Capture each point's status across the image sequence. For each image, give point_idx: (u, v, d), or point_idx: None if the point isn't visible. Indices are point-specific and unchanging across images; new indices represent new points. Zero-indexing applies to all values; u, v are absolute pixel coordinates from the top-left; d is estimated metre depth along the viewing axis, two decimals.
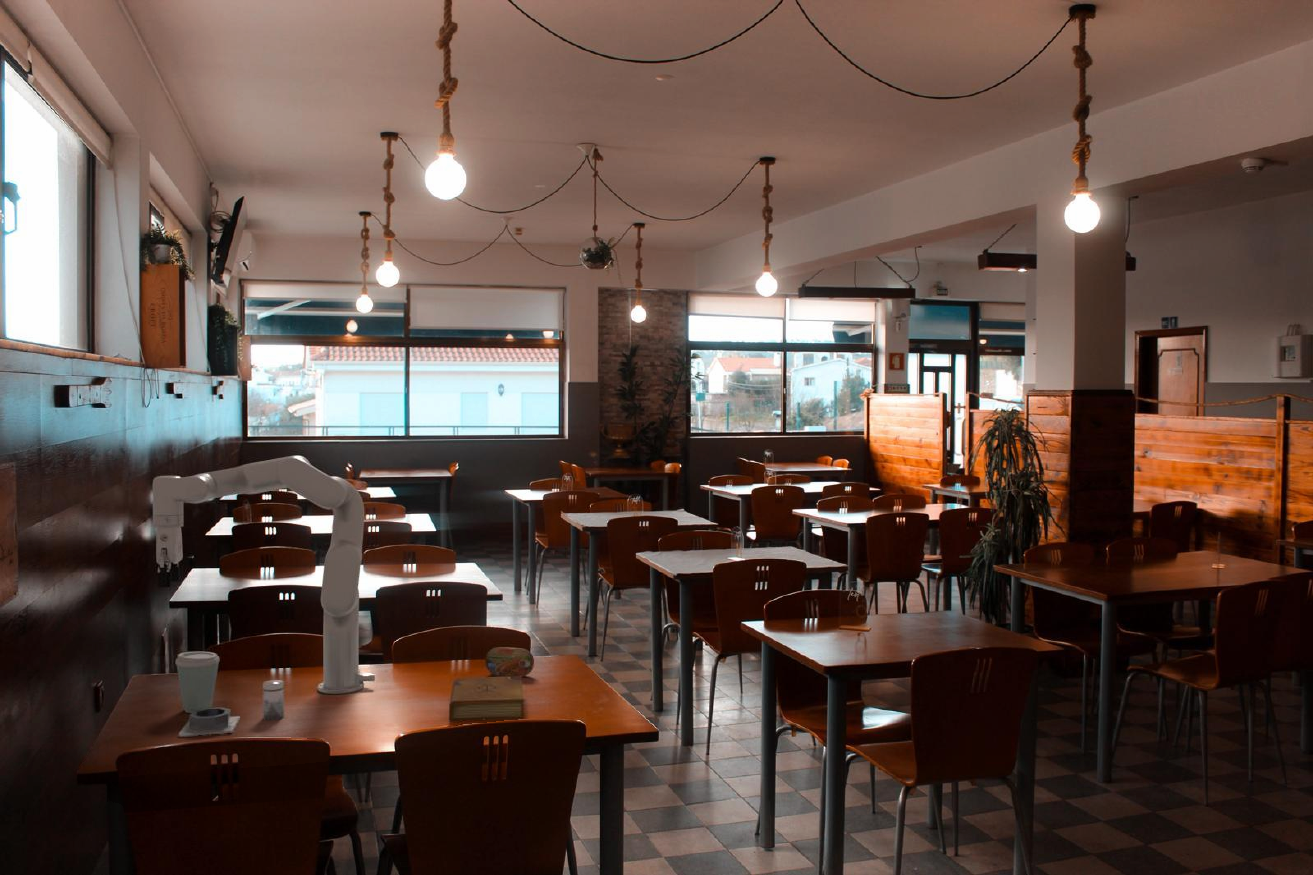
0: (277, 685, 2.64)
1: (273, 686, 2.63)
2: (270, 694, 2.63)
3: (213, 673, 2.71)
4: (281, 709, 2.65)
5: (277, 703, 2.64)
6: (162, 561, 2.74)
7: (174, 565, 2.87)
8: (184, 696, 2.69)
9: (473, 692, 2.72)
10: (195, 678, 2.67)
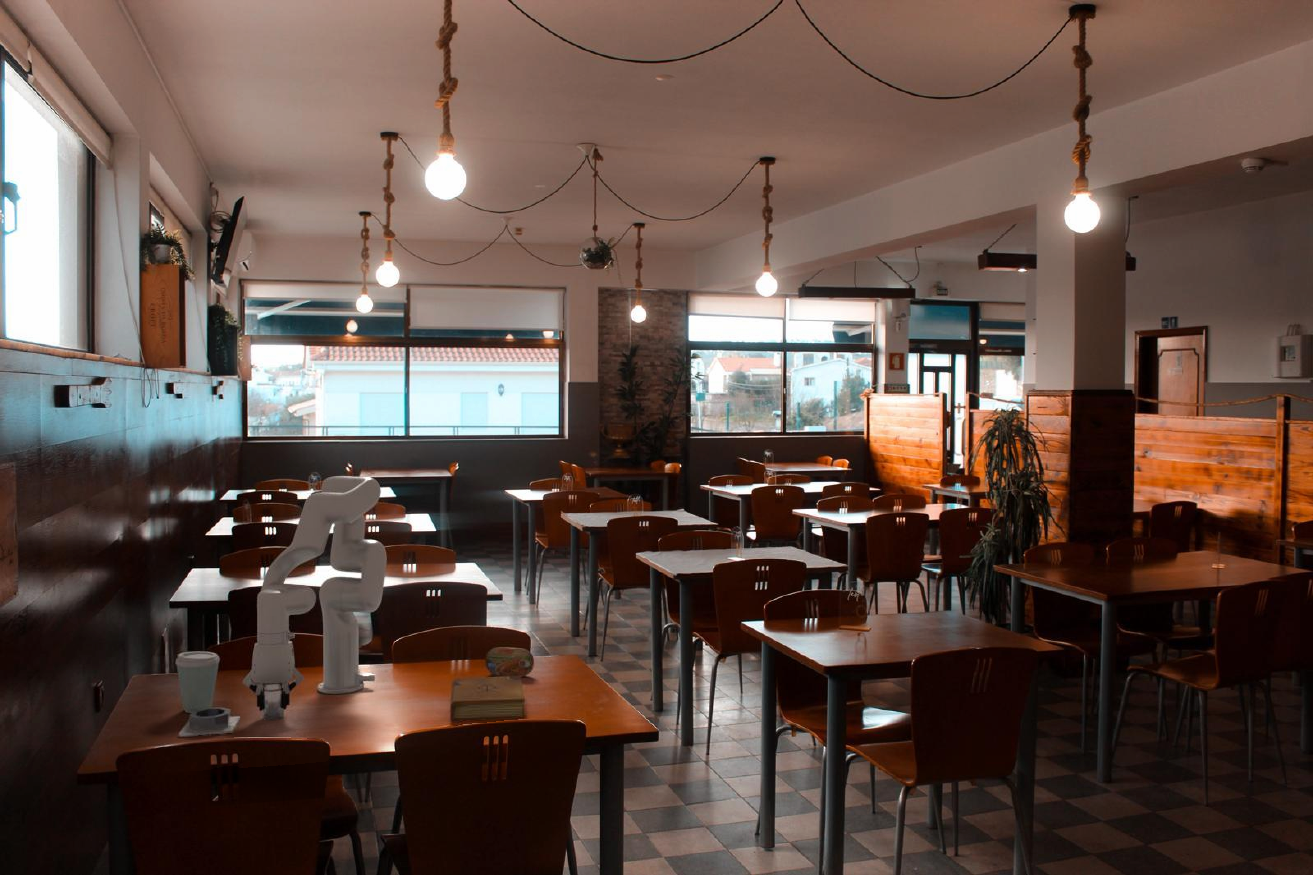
0: (277, 685, 2.64)
1: (273, 686, 2.63)
2: (270, 694, 2.63)
3: (213, 673, 2.71)
4: (281, 709, 2.65)
5: (277, 703, 2.64)
6: None
7: None
8: (184, 696, 2.69)
9: (474, 692, 2.72)
10: (195, 678, 2.67)
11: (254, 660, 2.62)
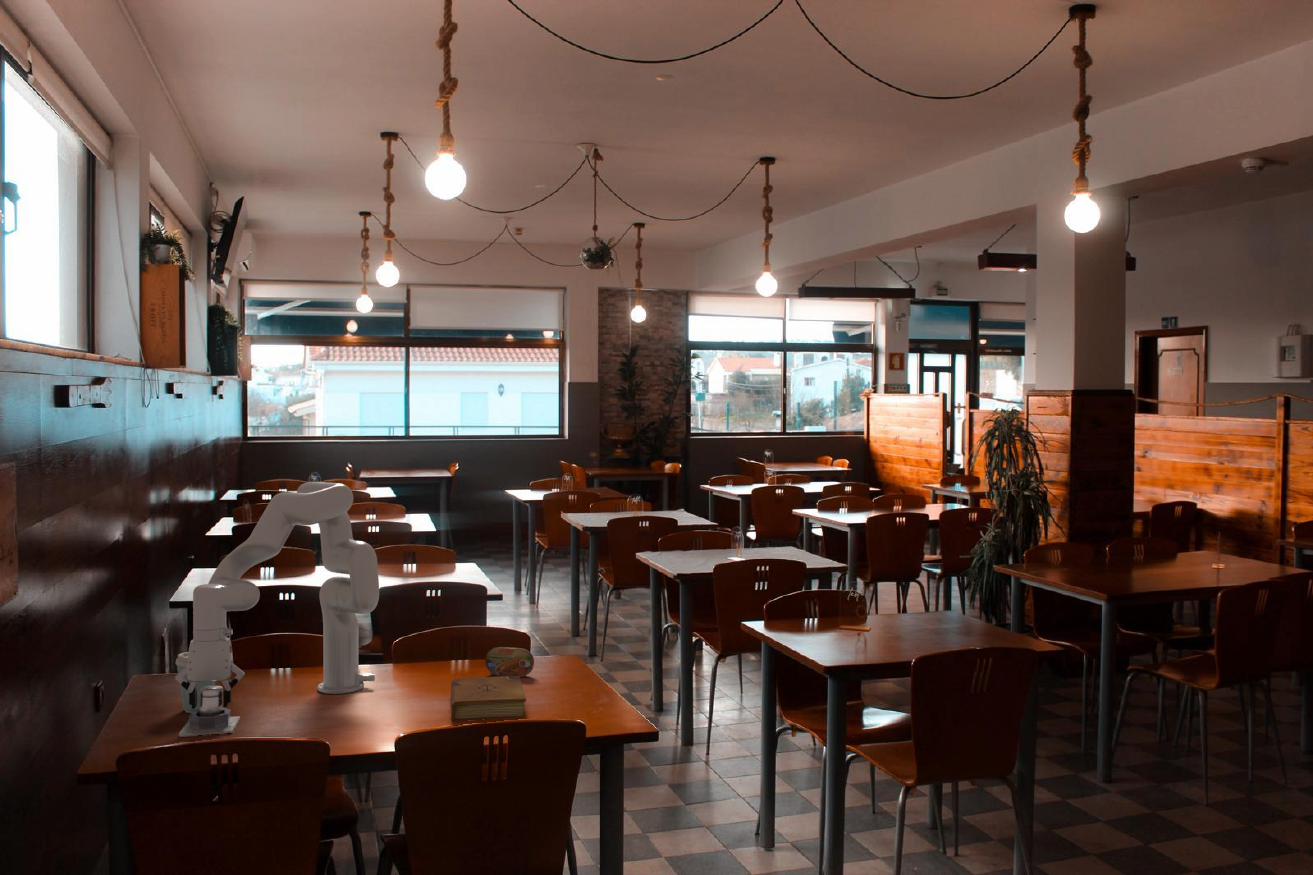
0: (215, 691, 2.55)
1: (211, 692, 2.54)
2: (207, 700, 2.54)
3: None
4: None
5: (214, 709, 2.55)
6: (242, 676, 2.58)
7: (195, 688, 2.56)
8: (184, 696, 2.69)
9: (474, 692, 2.72)
10: None
11: (189, 657, 2.53)
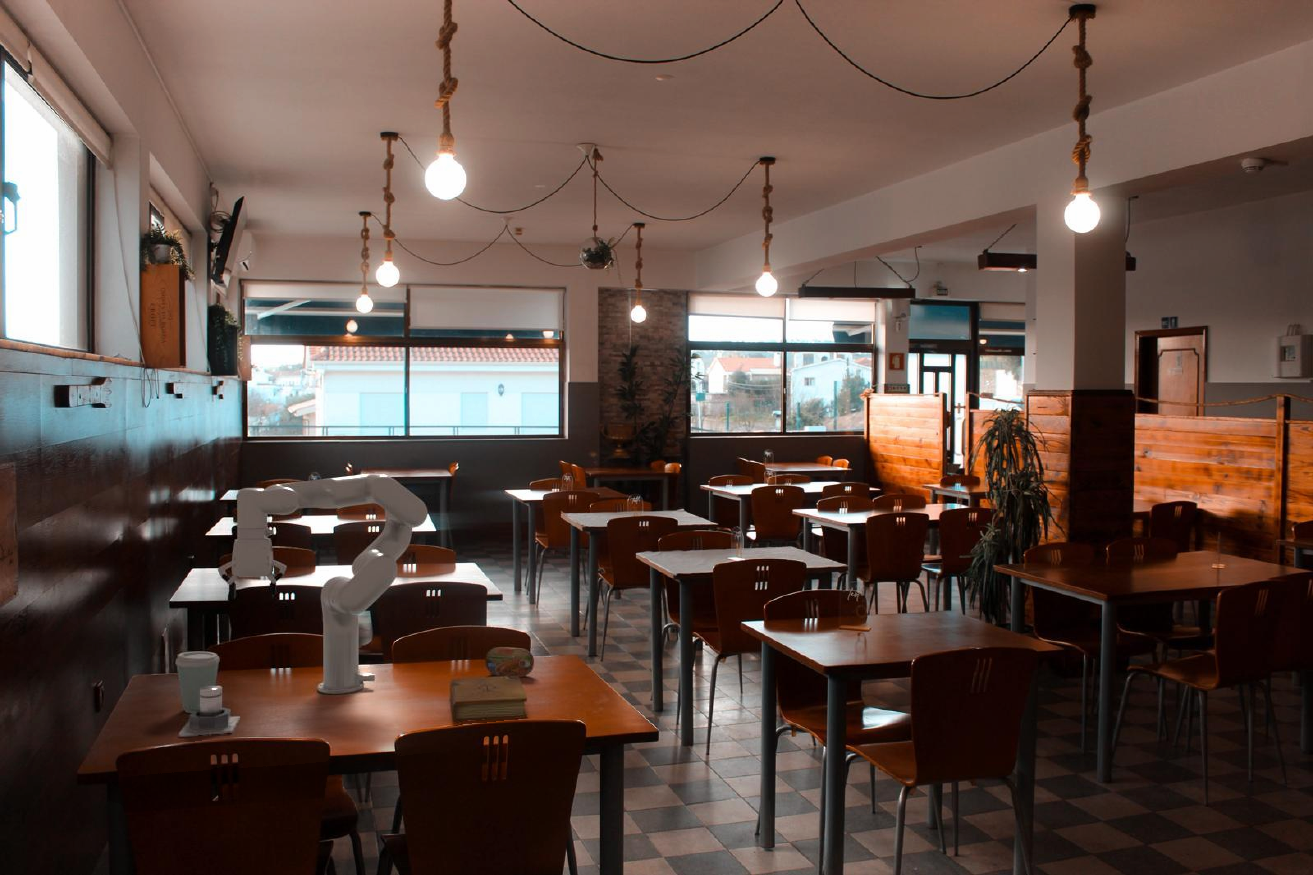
0: (214, 691, 2.54)
1: (210, 692, 2.54)
2: (206, 700, 2.54)
3: (213, 673, 2.71)
4: None
5: (213, 709, 2.54)
6: (285, 569, 2.80)
7: (234, 582, 2.77)
8: (184, 696, 2.69)
9: (474, 692, 2.72)
10: (195, 678, 2.67)
11: (234, 554, 2.75)
